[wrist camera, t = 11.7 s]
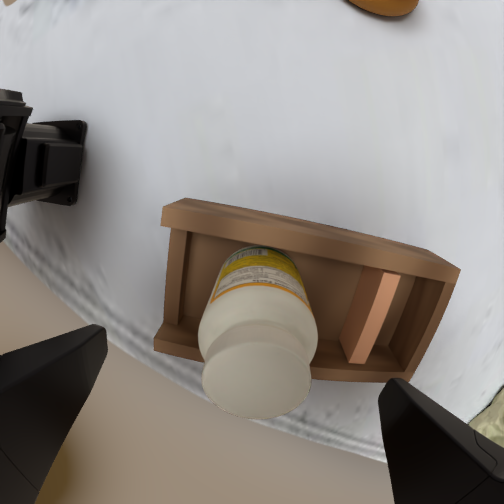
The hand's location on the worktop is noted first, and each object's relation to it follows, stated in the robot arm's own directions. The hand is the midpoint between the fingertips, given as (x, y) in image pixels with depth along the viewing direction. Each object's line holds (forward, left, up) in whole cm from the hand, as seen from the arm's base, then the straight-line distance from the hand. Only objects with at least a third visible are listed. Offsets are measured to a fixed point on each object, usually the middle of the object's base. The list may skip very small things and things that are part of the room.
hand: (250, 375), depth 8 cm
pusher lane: (+4, -2, -12) cm, 12 cm away
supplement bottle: (0, -2, -11) cm, 11 cm away
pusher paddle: (+8, -2, -11) cm, 13 cm away
